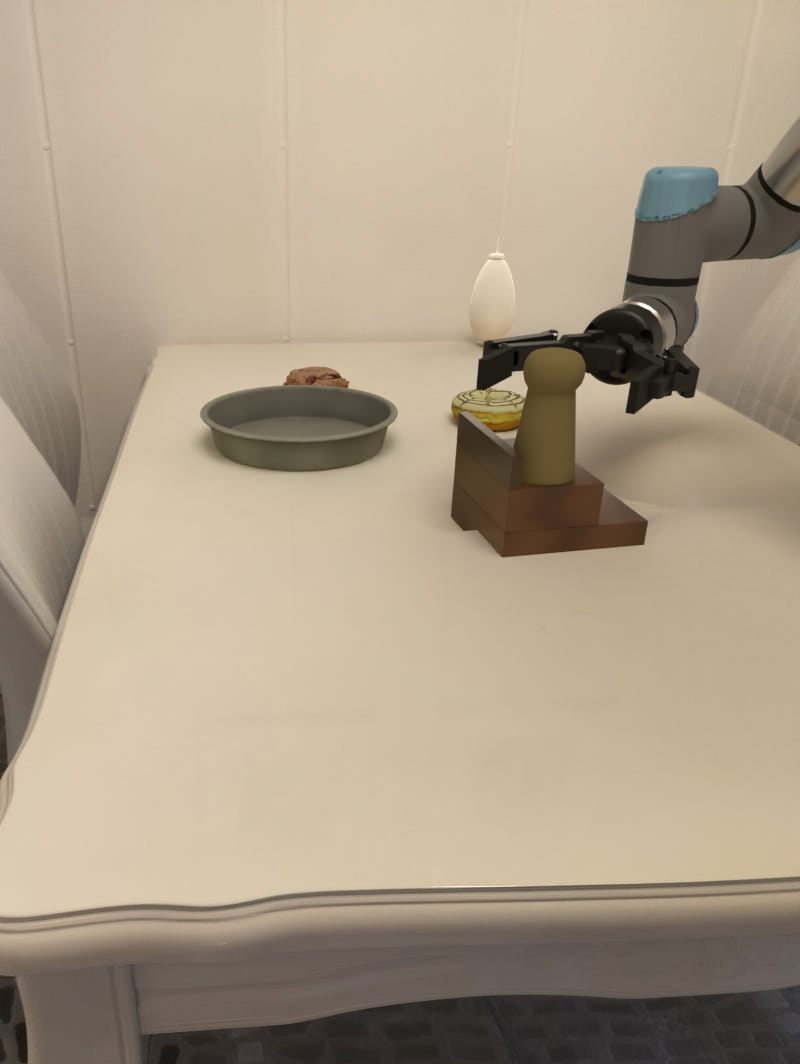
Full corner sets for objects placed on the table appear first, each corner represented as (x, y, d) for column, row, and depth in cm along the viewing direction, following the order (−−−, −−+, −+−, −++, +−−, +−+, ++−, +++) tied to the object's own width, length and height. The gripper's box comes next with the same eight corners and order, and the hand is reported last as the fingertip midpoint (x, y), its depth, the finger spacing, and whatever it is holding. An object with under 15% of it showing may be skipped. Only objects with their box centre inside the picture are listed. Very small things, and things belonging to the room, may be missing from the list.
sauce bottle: (458, 344, 166) (466, 236, 157) (485, 338, 171) (494, 233, 162) (492, 352, 161) (502, 241, 152) (519, 345, 166) (531, 237, 157)
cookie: (334, 379, 145) (334, 359, 143) (357, 396, 136) (357, 375, 134) (273, 383, 142) (273, 364, 140) (293, 401, 133) (292, 380, 132)
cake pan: (407, 421, 125) (409, 388, 122) (380, 483, 104) (382, 444, 102) (234, 410, 129) (232, 378, 127) (174, 468, 108) (171, 430, 106)
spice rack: (575, 506, 98) (590, 404, 92) (641, 560, 86) (663, 447, 81) (450, 516, 95) (458, 411, 90) (500, 573, 84) (513, 457, 78)
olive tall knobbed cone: (496, 476, 83) (508, 351, 77) (523, 458, 87) (537, 339, 82) (559, 489, 80) (577, 361, 74) (585, 470, 84) (603, 347, 79)
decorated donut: (530, 413, 128) (533, 386, 126) (526, 436, 119) (530, 407, 117) (455, 408, 130) (457, 381, 128) (446, 430, 121) (448, 401, 119)
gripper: (746, 395, 91) (693, 453, 75) (510, 362, 102) (422, 407, 87) (765, 316, 87) (713, 360, 71) (517, 291, 99) (427, 324, 83)
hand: (553, 386), depth 79 cm, fingers open, 13 cm apart
